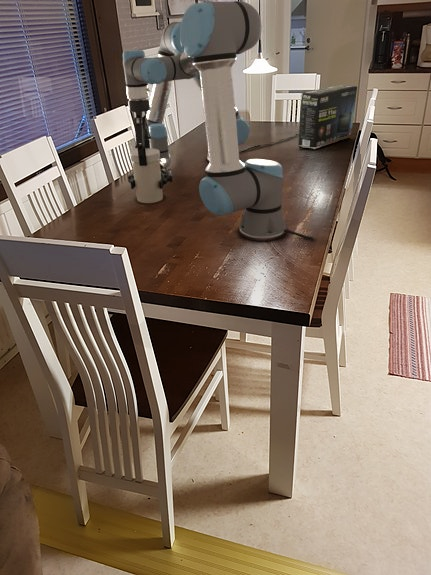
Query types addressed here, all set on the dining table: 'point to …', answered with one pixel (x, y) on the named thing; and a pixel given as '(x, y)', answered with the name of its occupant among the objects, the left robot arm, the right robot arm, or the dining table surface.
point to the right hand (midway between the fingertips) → (145, 161)
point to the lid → (150, 155)
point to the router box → (326, 115)
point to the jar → (148, 182)
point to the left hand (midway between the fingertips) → (146, 185)
